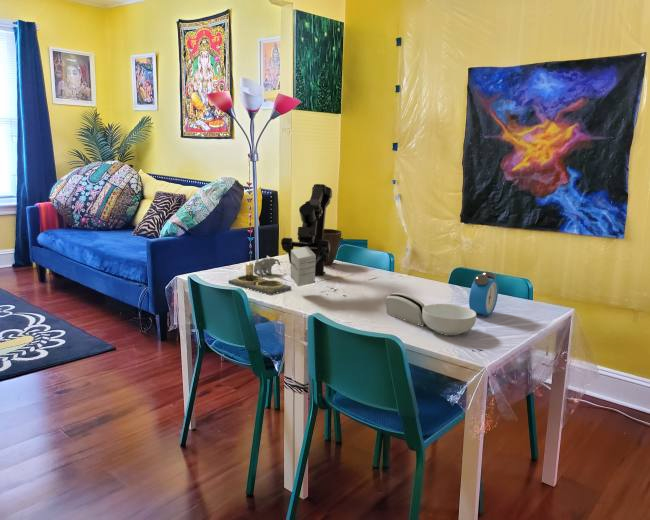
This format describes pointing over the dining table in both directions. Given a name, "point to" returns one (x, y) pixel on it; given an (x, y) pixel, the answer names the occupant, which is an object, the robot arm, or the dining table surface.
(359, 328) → the dining table surface
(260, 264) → the gray elephant figurine
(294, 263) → the supplement box
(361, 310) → the dining table surface
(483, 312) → the alarm clock
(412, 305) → the napkin holder
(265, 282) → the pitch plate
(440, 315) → the cereal bowl
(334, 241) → the plant pot
